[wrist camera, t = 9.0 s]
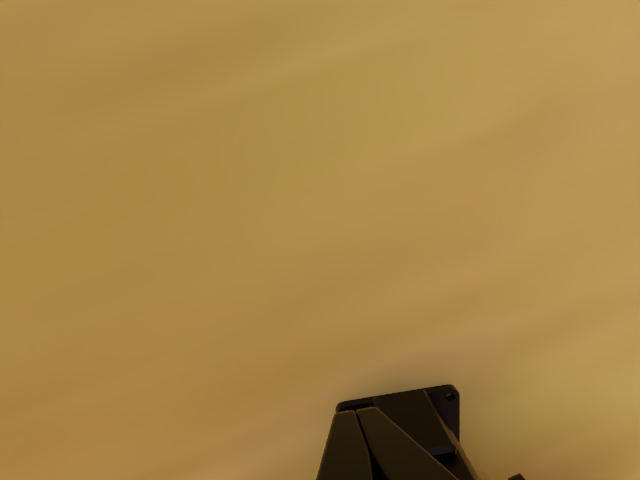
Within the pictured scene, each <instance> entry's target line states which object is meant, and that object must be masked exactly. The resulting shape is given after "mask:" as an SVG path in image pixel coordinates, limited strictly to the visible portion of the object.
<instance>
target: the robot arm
mask: <svg viewBox="0 0 640 480" xmlns="http://www.w3.org/2000/svg"><path fill="white" fill-rule="evenodd" d="M449 393H451V395H450V396H448V397H446V395H447V394H449ZM346 410H349V411H346ZM343 411H344V412H343ZM316 480H480V479H479V477H478V475H477V474H476V472H475V470H474V468H473V467H472V465H471V463H470V461H469V459H468V458H467V456H466V454H465V452H464V451H463V449H462V447H461V445H460V444H459V393H458V391H457V390H456V388H455V387H454V386H453V385H441V386H435V387H429V388H423V389H417V390H411V391H405V392H399V393H392V394H386V395H380V396H374V397H368V398H362V399H356V400H349V401H344V402H341V403H339V404H338V405H337V407H336V414H335V415H334V417H333V420H332V424H331V428H330V431H329V435H328V439H327V442H326V446H325V449H324V453H323V457H322V460H321V464H320V467H319V471H318V475H317V478H316ZM508 480H525V479H524V478H523V476H522V475H521V474H520V473H519V474H517V475H515V476H512V477H510V478H508Z"/></svg>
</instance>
